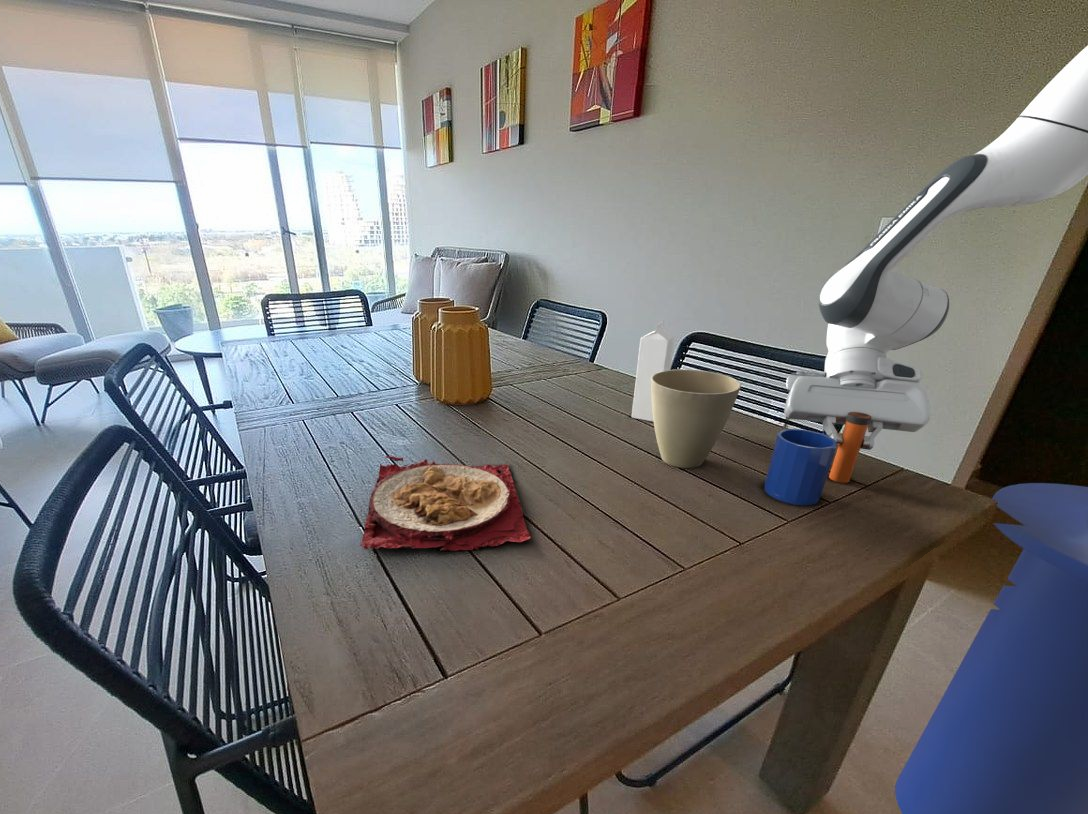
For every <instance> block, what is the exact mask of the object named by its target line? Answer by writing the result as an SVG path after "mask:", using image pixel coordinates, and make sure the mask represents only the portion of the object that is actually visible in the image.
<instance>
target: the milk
mask: <svg viewBox="0 0 1088 814" xmlns="http://www.w3.org/2000/svg"><path fill="white" fill-rule="evenodd" d="M664 324H665V320H661V321H660V322H658V323H656V324H655V329H654V330H653V331H651V332H649V333H647V334H645V335H643V336H642V337H640V341H639V350H638V359H637V367H636V374H635V375H636V376H635V385H634V394H633V400H632V408H631V418H632V419H638V420H642V421H648V422H653V423H654V421H653V413H652V399H651V377H652V375H654V374H655V373H658V372H661V371H667V370H671V368H672V367H671V366H672V361H673V353H674V348H675V340H676V335H674V334H673V333H672V332H670V331H669V330H668V329H666V328H665V327H664Z"/></svg>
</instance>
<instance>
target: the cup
mask: <svg viewBox="0 0 1088 814" xmlns="http://www.w3.org/2000/svg"><path fill="white" fill-rule="evenodd" d="M837 448H838V446H837V442H836V441H835V440H834V439H833V438H831V437H830V436H828V434H824V433H821V432H817V431H813V430H808V429H801V428H786V429H782V430H779V431H778V432H777V435H776V438H775V443H774V447H773V450H772V455H771V458H770V462H769V466H768V469H767V474H766V477H765V482H764V486H763V489H764V491H765V493H766V494H768V495H769V496H770V497H772V498H773V499H776V500H778V501H780V502H782V503H786V504H791V505H795V506H813V505H815V504H817V503H819V501H820V499H821V497H822V494H823V491H824V487H825V485H826V482H827V479H828V476H829V475H828V474H829V473H830V472H829V471H830V470H831V469H830V468H831V467H832V464H833V461H834V457H835V456H834V455H835V454H836V451H837V450H836V449H837Z"/></svg>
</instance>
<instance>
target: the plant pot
mask: <svg viewBox="0 0 1088 814" xmlns="http://www.w3.org/2000/svg"><path fill="white" fill-rule="evenodd" d="M741 387H742V384H741V382H740V381H739V380H738V379H735V378H734V377H732V376H729V375H726V374H722V373H718V372H713V371H707V370H699V369H680V368H679V369H670V370H667V371H661V372H658V373H655V374H654V375H652V377H651V399H652V413H653V421H654V422H653V421H652V422H653V426H654V432H655V437H656V438H655V439H656V442H657V447H658V450H659V454H660V458H661V460H662V461H663V462H664V463H666V464H667V465H669V466H671V467H675V468H681V469H694V468H695V469H696V468H698V467H700V466H702V464H703V463H704V462H705V460H706V458H707V457H708V456H709V454H710V453H711V451H712V450H713V448H714V446H715V444H716V442H717V441H718V439H719V438H720V436H721V434H722V432H723V430H724V428H725V426H726V424H727V422H728V420H729V417H730V415H731V413H732V411H733V408H734V406H735V403H736V401H737V397H738V395H739V393H740V390H741Z"/></svg>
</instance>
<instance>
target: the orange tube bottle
mask: <svg viewBox="0 0 1088 814" xmlns="http://www.w3.org/2000/svg"><path fill="white" fill-rule="evenodd" d="M871 418H872V417H871V416H870V415H868V414H865V413H860V412H849V413H848V415H847V418H846V424H845V425H844V427H843V431H842V433H843V438H842V439H843V442H842V444H841V445H840V446H837V448H836V449H837V450H836V451H835V454H834V455H835V456H834V458H833V461H832V464H831V467H830V468H831V469H830V470H829V471H830V472H829V473H828V474H829V475H828V478H829V479H830V480H832V481H834V482H837V483H841V484H846V483H849V482H850V481H851V477H852V474H853V472H854V469H855V466H856V463H857V460H858V456H859V454H860V451H861V449H860V448H861V445H862V442H863V439H864V436H866V433H867V431H868V425H869V424H870V421H871Z"/></svg>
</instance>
